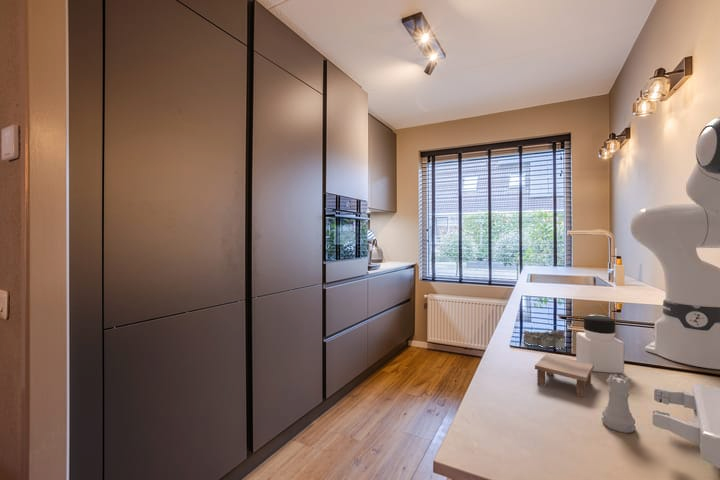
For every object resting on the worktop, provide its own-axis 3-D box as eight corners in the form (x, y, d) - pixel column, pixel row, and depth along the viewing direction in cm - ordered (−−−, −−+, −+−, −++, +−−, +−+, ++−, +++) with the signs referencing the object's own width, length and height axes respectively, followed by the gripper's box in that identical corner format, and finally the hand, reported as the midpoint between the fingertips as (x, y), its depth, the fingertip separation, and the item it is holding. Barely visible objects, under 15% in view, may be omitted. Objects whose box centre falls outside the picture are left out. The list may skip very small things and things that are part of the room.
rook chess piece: (643, 431, 53) (643, 381, 53) (622, 436, 52) (622, 385, 51) (614, 417, 57) (614, 370, 57) (594, 421, 56) (595, 373, 56)
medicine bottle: (624, 374, 75) (625, 321, 75) (589, 371, 76) (589, 319, 76) (607, 362, 82) (608, 313, 82) (575, 360, 83) (576, 312, 83)
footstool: (546, 371, 76) (546, 354, 76) (593, 383, 70) (593, 364, 70) (534, 384, 70) (534, 365, 70) (586, 398, 64) (586, 377, 64)
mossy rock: (566, 344, 96) (566, 330, 96) (564, 352, 90) (565, 337, 89) (525, 338, 102) (525, 325, 102) (521, 345, 95) (521, 330, 95)
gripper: (778, 389, 50) (655, 365, 59) (828, 457, 35) (651, 410, 44) (778, 431, 50) (654, 400, 59) (827, 516, 35) (651, 457, 44)
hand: (653, 405), depth 51 cm, fingers open, 8 cm apart
